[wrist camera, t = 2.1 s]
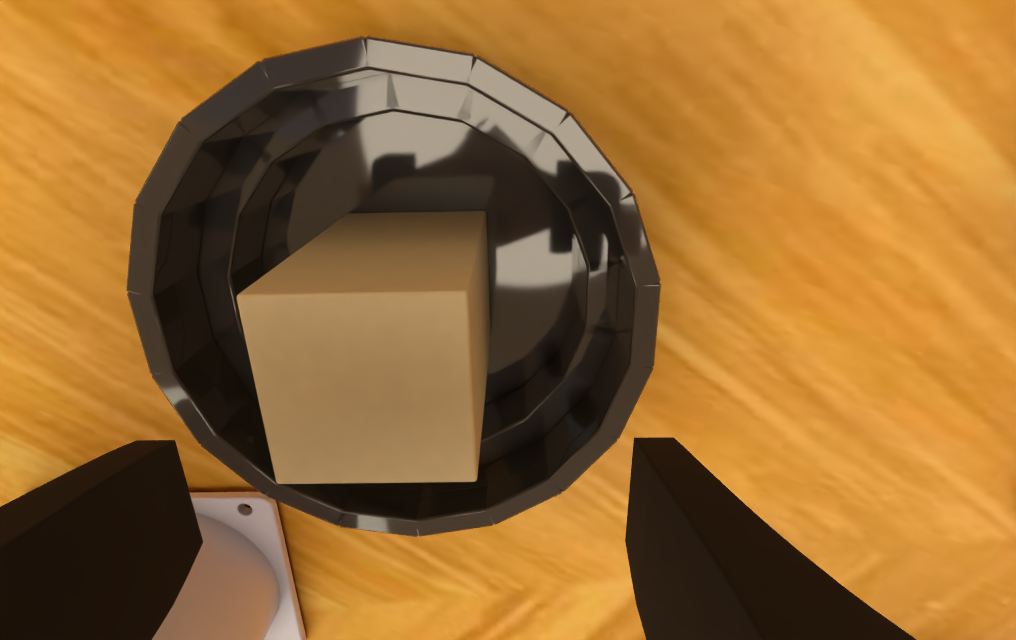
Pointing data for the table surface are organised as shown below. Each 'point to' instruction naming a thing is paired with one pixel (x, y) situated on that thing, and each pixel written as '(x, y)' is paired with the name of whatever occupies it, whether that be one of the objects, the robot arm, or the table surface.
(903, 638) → the robot arm
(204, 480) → the table surface
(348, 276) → the block
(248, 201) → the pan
